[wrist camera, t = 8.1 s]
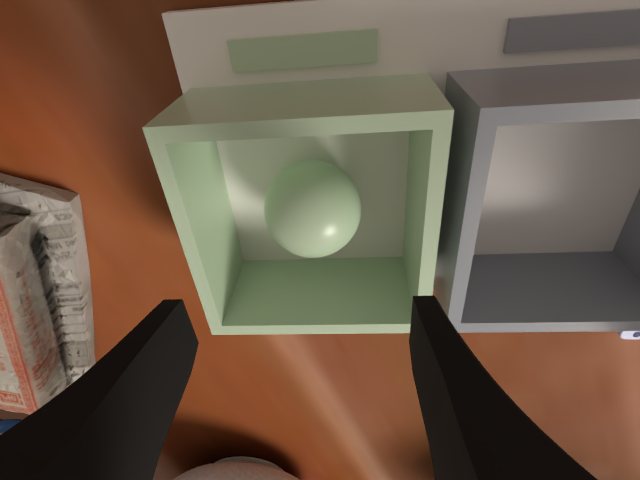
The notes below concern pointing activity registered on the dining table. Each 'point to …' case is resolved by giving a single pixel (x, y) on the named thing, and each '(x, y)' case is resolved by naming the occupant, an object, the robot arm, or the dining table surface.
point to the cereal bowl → (237, 470)
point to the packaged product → (42, 294)
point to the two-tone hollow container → (411, 161)
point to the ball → (312, 208)
